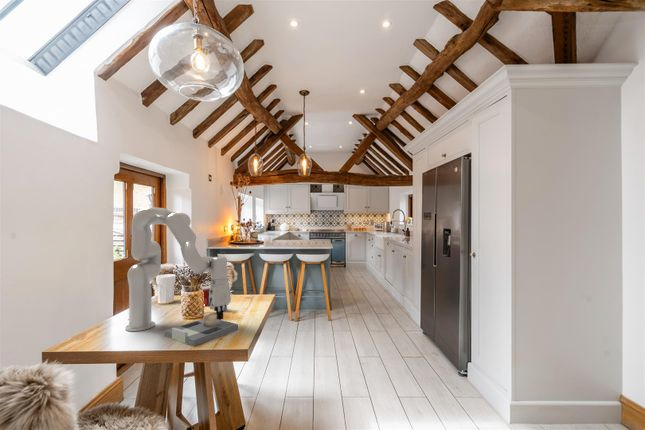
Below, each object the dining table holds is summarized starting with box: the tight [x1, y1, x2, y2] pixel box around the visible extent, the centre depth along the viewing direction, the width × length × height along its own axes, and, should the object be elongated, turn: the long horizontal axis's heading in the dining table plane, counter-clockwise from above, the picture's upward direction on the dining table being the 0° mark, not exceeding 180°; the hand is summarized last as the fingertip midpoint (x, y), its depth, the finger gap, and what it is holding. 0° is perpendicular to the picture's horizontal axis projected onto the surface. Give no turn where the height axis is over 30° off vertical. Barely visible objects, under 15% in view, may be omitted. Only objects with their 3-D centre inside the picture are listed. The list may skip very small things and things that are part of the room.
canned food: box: [201, 285, 211, 307], centre depth 196 cm, size 8×8×11 cm
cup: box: [155, 273, 177, 305], centre depth 202 cm, size 11×11×17 cm
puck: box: [203, 312, 217, 327], centre depth 151 cm, size 6×6×5 cm
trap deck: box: [163, 318, 239, 347], centre depth 147 cm, size 22×24×4 cm
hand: (219, 318), depth 155 cm, fingers closed
